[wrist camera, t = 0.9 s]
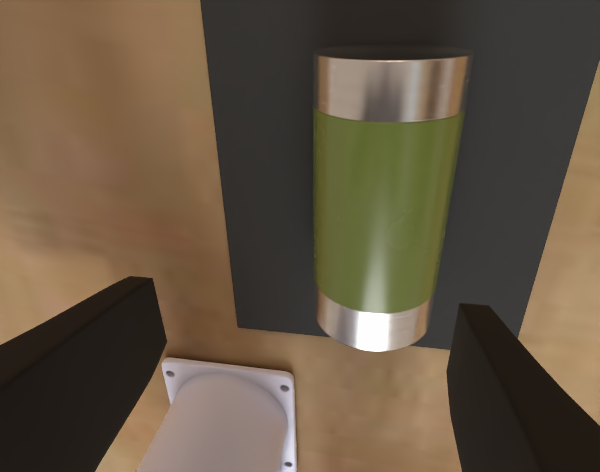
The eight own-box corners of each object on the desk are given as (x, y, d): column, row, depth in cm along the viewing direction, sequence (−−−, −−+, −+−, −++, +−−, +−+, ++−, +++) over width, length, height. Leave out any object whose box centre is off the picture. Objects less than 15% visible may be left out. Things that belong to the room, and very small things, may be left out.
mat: (510, 351, 21) (512, 356, 21) (239, 322, 24) (237, 327, 23) (699, -304, 11) (710, -314, 10) (177, -242, 13) (171, -248, 13)
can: (461, 42, 15) (425, 283, 20) (323, 43, 16) (321, 274, 21) (490, 60, 11) (436, 359, 16) (300, 60, 12) (305, 345, 17)
